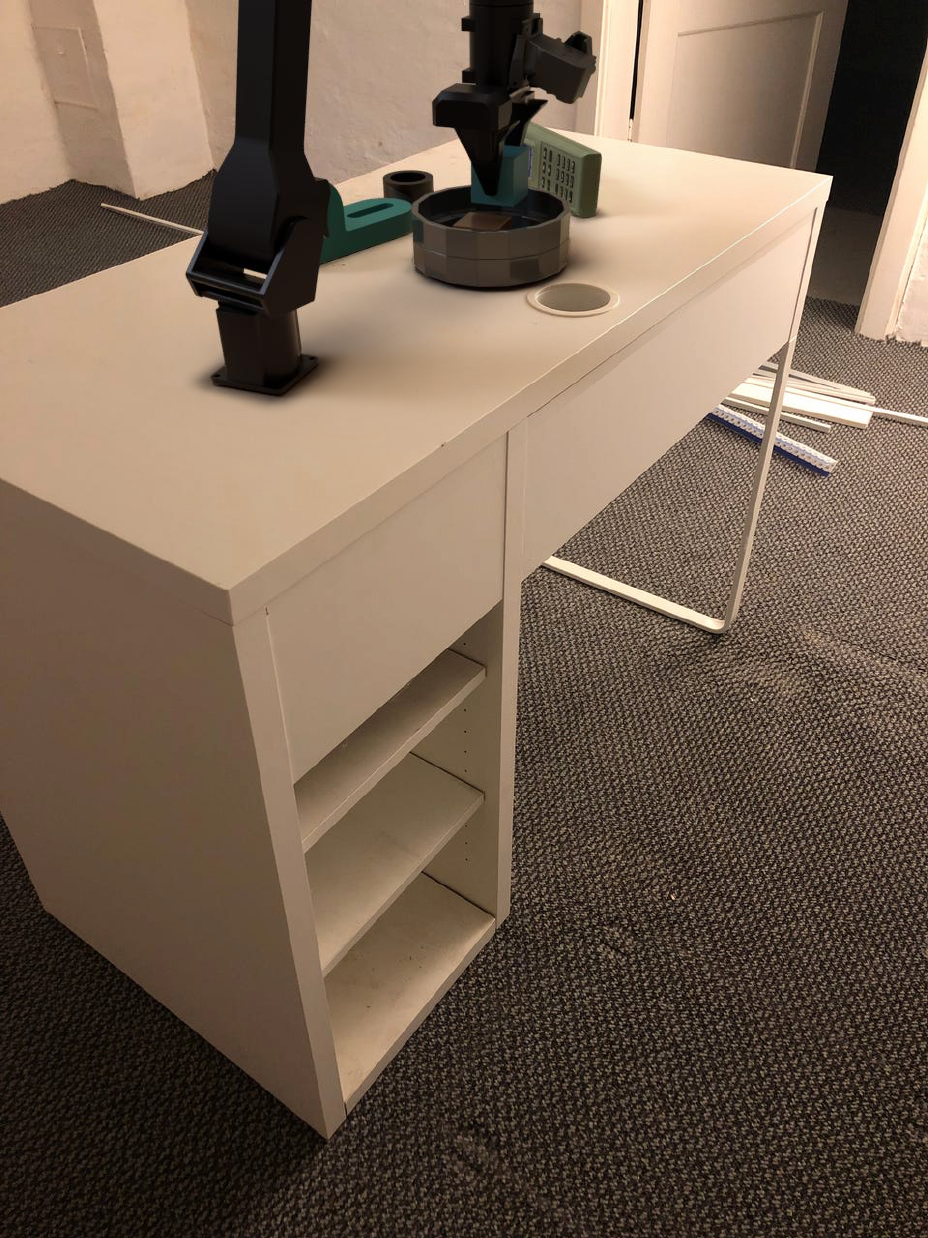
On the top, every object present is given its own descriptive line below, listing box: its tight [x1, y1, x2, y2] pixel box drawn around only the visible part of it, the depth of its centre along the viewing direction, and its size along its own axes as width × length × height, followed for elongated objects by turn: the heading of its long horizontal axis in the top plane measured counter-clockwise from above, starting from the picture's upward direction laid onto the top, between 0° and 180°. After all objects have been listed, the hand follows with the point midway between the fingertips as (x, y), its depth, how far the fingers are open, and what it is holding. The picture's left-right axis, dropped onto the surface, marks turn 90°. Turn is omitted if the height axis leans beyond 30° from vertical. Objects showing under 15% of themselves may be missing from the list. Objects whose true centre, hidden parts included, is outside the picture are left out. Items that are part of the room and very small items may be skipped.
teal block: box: [470, 145, 529, 207], centre depth 96 cm, size 4×4×4 cm
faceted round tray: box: [411, 184, 572, 288], centre depth 98 cm, size 15×15×6 cm
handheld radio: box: [523, 120, 603, 219], centre depth 117 cm, size 7×3×25 cm
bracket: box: [320, 182, 413, 265], centre depth 103 cm, size 18×7×8 cm, turn 136°
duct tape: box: [382, 169, 435, 205], centre depth 114 cm, size 8×10×3 cm
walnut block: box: [453, 212, 512, 230], centre depth 96 cm, size 4×4×4 cm
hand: (499, 188), depth 97 cm, fingers closed on teal block, 4 cm apart
